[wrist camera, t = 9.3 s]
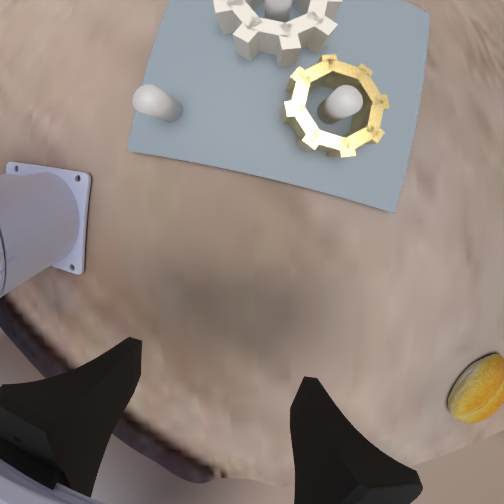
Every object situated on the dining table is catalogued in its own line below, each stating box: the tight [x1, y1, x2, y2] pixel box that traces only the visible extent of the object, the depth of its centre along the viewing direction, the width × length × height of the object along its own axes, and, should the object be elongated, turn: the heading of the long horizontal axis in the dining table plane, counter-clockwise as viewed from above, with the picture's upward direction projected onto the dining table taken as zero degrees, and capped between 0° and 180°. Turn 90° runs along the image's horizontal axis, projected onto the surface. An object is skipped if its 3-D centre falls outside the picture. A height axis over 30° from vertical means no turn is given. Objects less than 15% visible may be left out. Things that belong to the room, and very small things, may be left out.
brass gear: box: [280, 54, 390, 157], centre depth 16 cm, size 6×6×3 cm
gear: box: [213, 0, 343, 68], centre depth 14 cm, size 7×7×3 cm
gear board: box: [127, 0, 430, 214], centre depth 15 cm, size 18×16×6 cm
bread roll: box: [448, 354, 504, 423], centre depth 23 cm, size 8×9×4 cm
